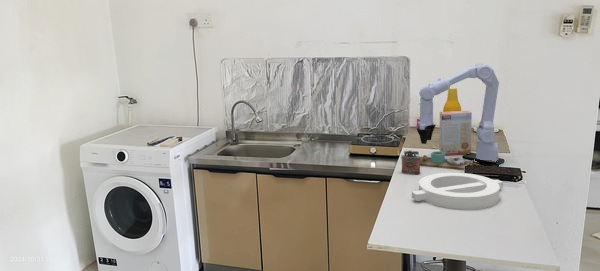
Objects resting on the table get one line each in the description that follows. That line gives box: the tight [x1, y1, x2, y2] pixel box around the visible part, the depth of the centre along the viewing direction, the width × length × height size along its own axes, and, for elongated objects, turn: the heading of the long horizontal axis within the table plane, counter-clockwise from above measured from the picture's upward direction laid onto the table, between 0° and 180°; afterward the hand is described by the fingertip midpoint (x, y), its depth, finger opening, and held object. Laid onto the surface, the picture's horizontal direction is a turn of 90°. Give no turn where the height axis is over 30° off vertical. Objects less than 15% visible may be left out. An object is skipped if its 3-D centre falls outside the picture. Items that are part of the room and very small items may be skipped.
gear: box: [430, 151, 447, 164], centre depth 210 cm, size 6×6×4 cm
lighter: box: [400, 149, 421, 175], centre depth 199 cm, size 8×3×10 cm, turn 62°
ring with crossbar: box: [411, 172, 504, 210], centre depth 170 cm, size 28×28×5 cm
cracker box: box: [439, 110, 473, 156], centre depth 224 cm, size 14×6×21 cm, turn 84°
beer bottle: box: [442, 87, 462, 112], centre depth 247 cm, size 9×9×29 cm
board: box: [420, 154, 472, 171], centre depth 210 cm, size 23×12×4 cm, turn 59°
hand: (426, 141), depth 214 cm, fingers open, 7 cm apart
